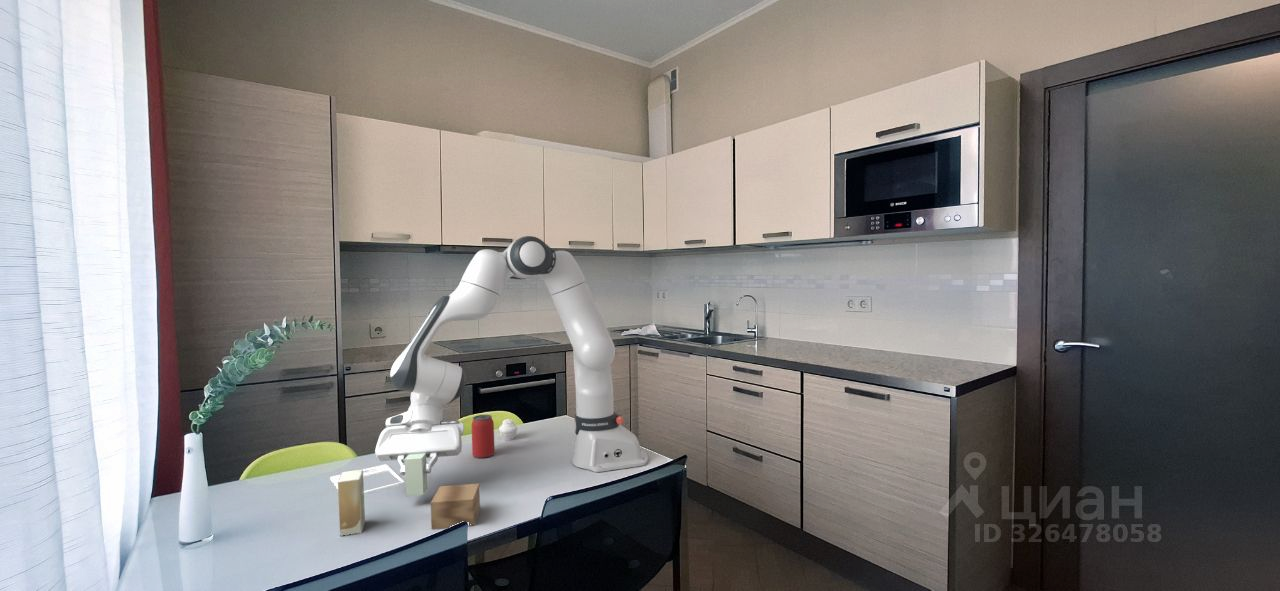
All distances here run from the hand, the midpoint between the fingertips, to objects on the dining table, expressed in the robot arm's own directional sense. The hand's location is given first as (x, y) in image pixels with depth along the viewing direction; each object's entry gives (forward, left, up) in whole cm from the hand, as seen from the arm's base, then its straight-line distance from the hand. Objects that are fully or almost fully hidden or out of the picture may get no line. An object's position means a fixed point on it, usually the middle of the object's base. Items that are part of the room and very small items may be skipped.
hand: (415, 473), depth 130 cm
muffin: (-17, -49, -8) cm, 52 cm away
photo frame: (+18, -19, -8) cm, 27 cm away
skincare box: (+11, +10, -8) cm, 17 cm away
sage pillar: (0, -1, -5) cm, 5 cm away
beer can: (-11, -34, -8) cm, 36 cm away
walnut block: (-11, +9, -8) cm, 17 cm away
